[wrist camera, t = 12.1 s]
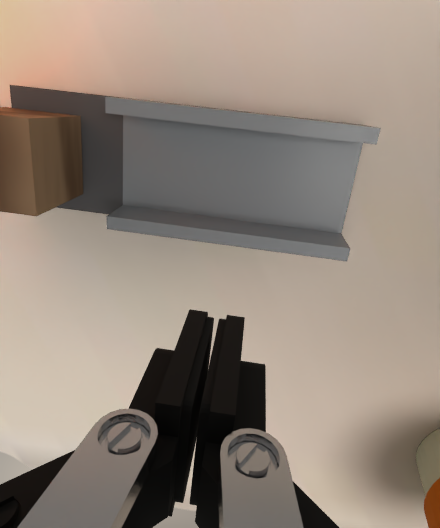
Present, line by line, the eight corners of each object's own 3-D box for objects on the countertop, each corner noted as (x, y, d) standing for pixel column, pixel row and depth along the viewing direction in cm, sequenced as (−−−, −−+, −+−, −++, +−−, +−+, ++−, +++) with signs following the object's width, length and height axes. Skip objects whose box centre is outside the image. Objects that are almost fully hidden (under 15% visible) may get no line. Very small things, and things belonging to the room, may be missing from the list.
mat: (125, 98, 29) (124, 97, 29) (124, 215, 33) (123, 216, 32) (12, 85, 30) (9, 85, 29) (23, 201, 33) (21, 202, 33)
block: (80, 116, 29) (28, 118, 23) (83, 193, 31) (36, 216, 25) (5, 107, 30) (-68, 107, 23) (13, 184, 32) (-51, 204, 25)
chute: (365, 125, 28) (380, 128, 24) (337, 243, 32) (347, 261, 28) (125, 98, 29) (105, 96, 25) (124, 215, 33) (106, 229, 29)
